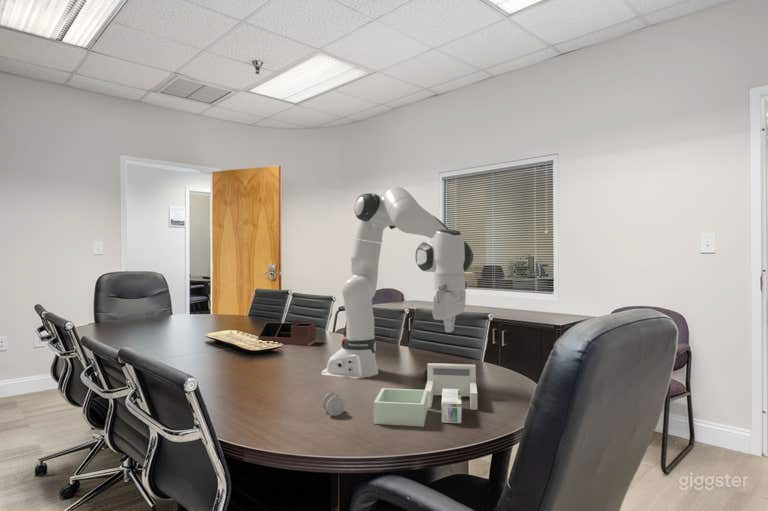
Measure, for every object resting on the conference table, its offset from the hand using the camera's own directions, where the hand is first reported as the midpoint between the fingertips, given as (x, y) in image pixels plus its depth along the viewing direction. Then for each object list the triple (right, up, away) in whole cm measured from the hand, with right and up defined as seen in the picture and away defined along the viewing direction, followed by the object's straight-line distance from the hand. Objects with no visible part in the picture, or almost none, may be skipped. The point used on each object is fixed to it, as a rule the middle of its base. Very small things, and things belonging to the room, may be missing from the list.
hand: (449, 331), depth 136 cm
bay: (+3, -25, +13) cm, 28 cm away
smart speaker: (0, -25, +38) cm, 45 cm away
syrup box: (+2, -22, +8) cm, 23 cm away
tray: (-14, -25, -1) cm, 28 cm away
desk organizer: (-70, -25, +108) cm, 132 cm away
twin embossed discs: (-34, -25, +2) cm, 42 cm away
